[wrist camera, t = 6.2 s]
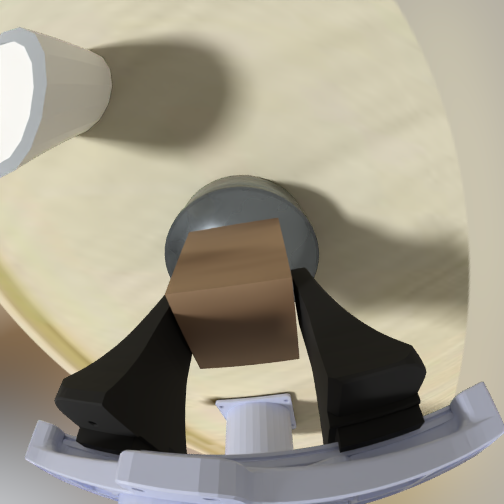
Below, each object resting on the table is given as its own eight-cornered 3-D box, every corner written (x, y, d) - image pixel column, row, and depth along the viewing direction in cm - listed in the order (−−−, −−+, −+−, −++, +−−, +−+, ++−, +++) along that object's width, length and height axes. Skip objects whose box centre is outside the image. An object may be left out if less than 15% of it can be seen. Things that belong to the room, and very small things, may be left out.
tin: (310, 282, 19) (319, 310, 17) (194, 295, 20) (188, 324, 17) (303, 163, 15) (315, 177, 13) (162, 185, 16) (145, 202, 13)
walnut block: (287, 289, 16) (299, 358, 12) (210, 300, 16) (200, 368, 12) (278, 217, 14) (291, 277, 9) (189, 231, 14) (165, 294, 10)
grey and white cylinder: (105, 21, 10) (32, -4, 4) (136, 113, 13) (65, 128, 7) (28, 80, 11) (-47, 91, 5) (55, 162, 14) (-18, 202, 8)
